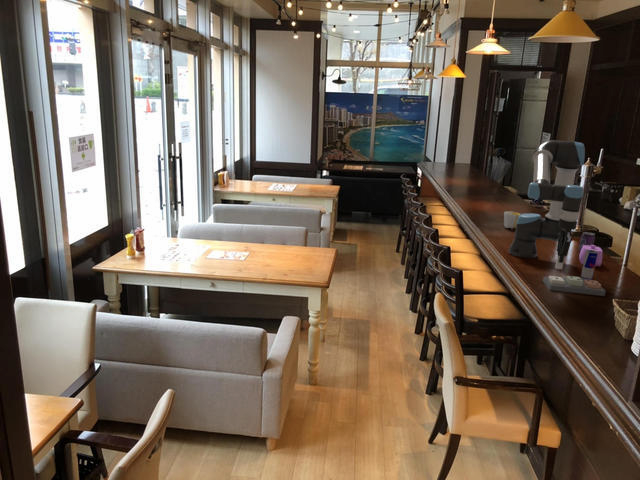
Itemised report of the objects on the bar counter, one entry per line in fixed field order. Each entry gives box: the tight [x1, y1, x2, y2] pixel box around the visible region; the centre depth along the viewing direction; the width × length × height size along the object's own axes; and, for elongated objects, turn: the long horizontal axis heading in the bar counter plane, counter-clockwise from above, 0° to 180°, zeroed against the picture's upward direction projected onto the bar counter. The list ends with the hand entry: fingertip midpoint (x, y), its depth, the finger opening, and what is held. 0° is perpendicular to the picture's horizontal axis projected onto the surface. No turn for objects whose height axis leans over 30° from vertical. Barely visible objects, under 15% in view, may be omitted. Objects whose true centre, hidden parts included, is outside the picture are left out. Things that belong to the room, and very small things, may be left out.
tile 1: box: [547, 275, 565, 285], centre depth 242 cm, size 6×6×3 cm
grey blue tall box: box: [580, 250, 598, 281], centre depth 253 cm, size 5×5×15 cm
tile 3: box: [583, 279, 602, 289], centre depth 240 cm, size 6×6×3 cm
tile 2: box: [565, 275, 584, 287], centre depth 240 cm, size 6×6×3 cm
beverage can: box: [577, 231, 596, 253], centre depth 301 cm, size 7×7×12 cm
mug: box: [503, 210, 521, 230], centre depth 351 cm, size 14×10×10 cm
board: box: [542, 276, 607, 297], centre depth 241 cm, size 12×24×2 cm, turn 81°
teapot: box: [578, 245, 603, 267], centre depth 283 cm, size 18×10×10 cm, turn 162°
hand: (558, 268), depth 240 cm, fingers closed
